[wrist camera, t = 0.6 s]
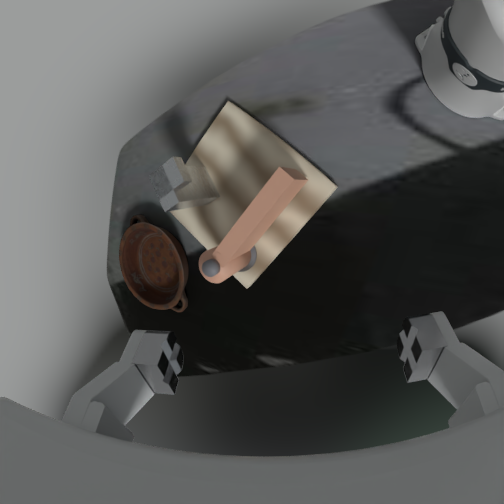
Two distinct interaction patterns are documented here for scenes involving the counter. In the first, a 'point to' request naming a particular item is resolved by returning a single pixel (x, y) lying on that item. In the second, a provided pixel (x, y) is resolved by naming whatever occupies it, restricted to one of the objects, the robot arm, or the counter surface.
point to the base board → (250, 186)
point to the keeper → (183, 185)
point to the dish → (154, 265)
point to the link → (251, 226)
